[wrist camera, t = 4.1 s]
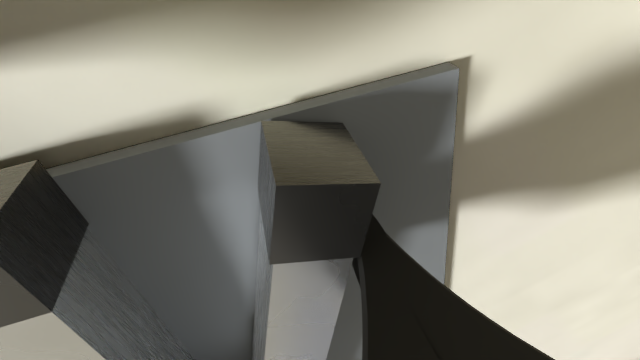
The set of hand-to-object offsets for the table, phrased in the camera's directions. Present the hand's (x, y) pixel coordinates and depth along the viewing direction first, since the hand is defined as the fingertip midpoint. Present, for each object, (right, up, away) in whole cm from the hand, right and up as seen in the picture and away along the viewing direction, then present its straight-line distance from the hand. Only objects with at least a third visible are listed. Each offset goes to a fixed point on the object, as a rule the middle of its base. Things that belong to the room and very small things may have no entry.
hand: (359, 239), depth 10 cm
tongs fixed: (-7, -4, +2) cm, 8 cm away
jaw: (-3, -3, +3) cm, 5 cm away
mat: (-2, -3, +3) cm, 5 cm away
